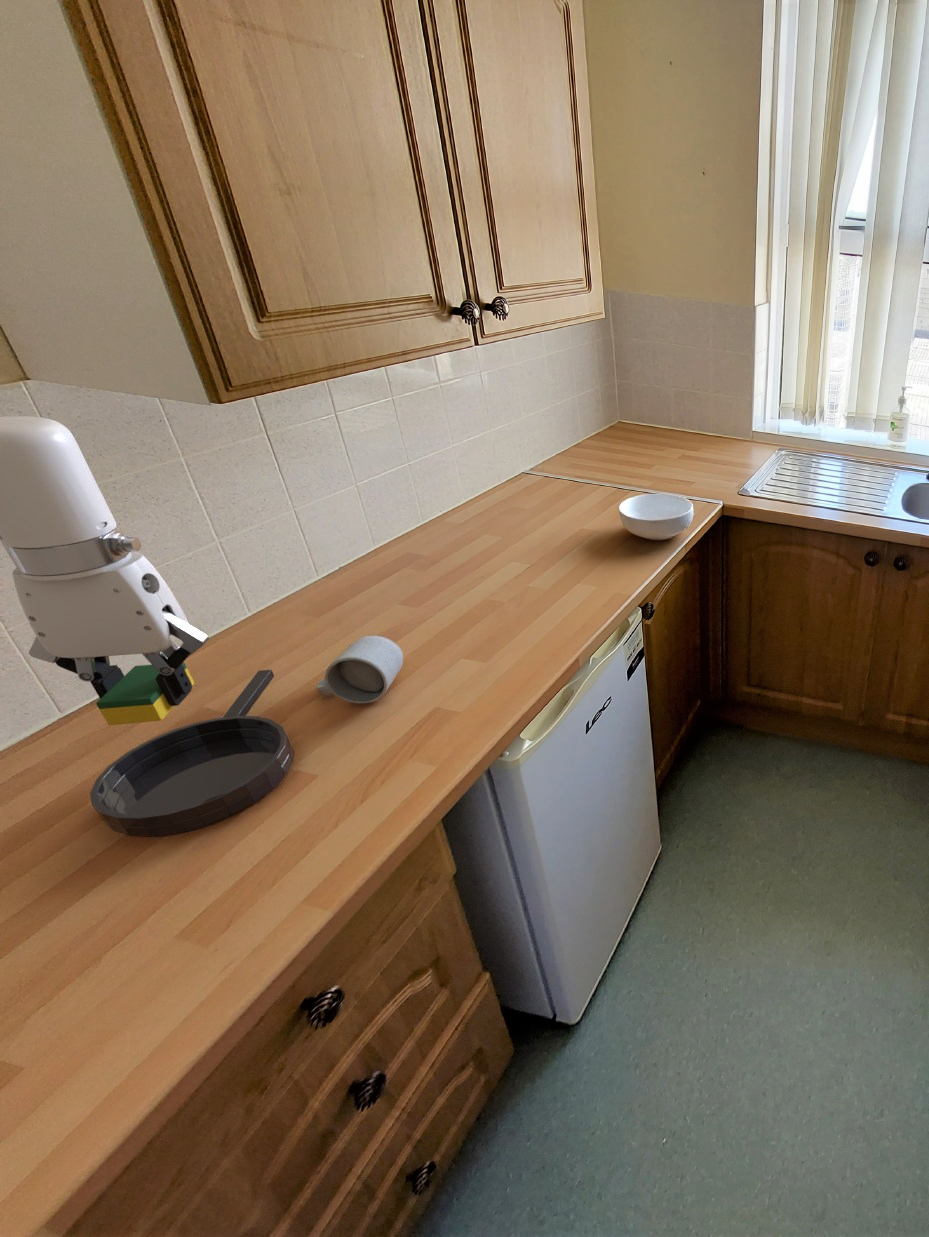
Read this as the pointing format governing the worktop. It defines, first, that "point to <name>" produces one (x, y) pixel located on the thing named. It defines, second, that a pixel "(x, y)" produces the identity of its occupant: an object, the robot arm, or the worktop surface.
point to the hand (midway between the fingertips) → (151, 699)
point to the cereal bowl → (656, 515)
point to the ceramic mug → (363, 670)
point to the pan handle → (250, 694)
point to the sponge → (136, 698)
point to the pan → (193, 776)
